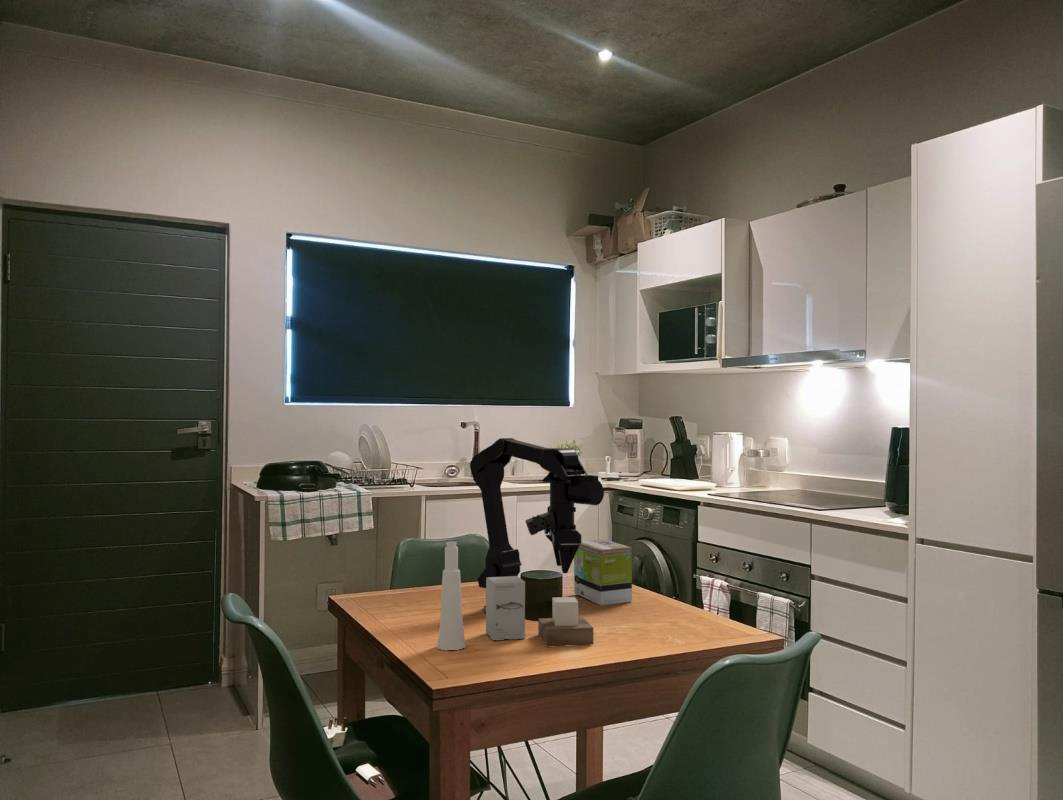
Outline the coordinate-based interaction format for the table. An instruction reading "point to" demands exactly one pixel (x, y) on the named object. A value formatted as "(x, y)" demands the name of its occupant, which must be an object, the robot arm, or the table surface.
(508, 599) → the supplement box
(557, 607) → the ceramic cube
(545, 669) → the table surface
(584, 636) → the walnut block
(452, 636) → the cosmetic bottle
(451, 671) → the table surface
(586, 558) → the tea box
